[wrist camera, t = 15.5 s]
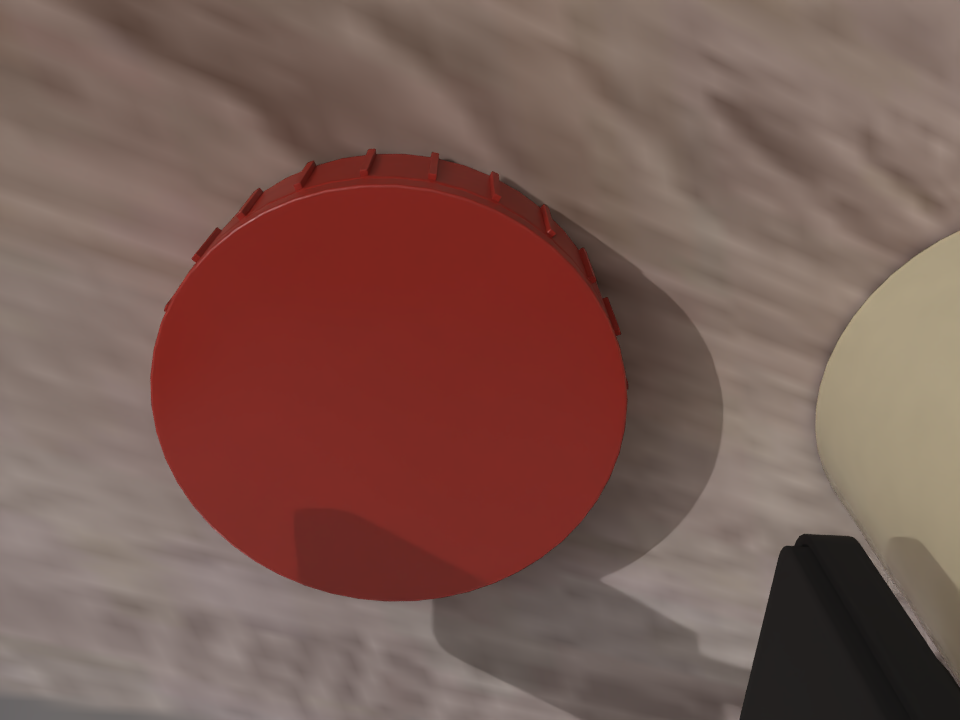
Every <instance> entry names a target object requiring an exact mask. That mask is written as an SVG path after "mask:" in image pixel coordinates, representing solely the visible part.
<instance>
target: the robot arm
mask: <svg viewBox="0 0 960 720" xmlns="http://www.w3.org/2000/svg"><path fill="white" fill-rule="evenodd" d="M740 720H960V687H959V686H958V684H957V683H956V682H955V680H954V679H953V677H952V676H951V674H950V673H949V671H948V670H947V669H946V668H945V667H944V666H943V664H942V663H941V662H940V661H939V660H938V659H937V658H936V656H935V655H934V653H933V652H932V650H931V649H930V647H929V646H928V644H927V643H926V641H925V640H924V638H923V637H922V635H921V634H920V632H919V631H918V630H917V628H916V627H915V625H914V624H913V622H912V621H911V619H910V618H909V616H908V615H907V613H906V612H905V610H904V609H903V607H902V606H901V604H900V603H899V601H898V600H897V598H896V597H895V595H894V594H893V592H892V591H891V589H890V588H889V586H888V585H887V584H886V582H885V581H884V579H883V578H882V576H881V575H880V573H879V572H878V570H877V569H876V567H875V566H874V564H873V563H872V561H871V560H870V558H869V557H868V555H867V554H866V552H865V551H864V549H863V548H862V546H861V545H860V543H859V542H858V541H857V540H856V539H855V538H853V537H850V536H834V535H813V534H803V535H801V536H799V538H798V539H797V541H796V543H795V545H794V546H785V547H783V549H782V550H781V552H780V555H779V558H778V562H777V566H776V570H775V574H774V578H773V583H772V587H771V591H770V595H769V599H768V603H767V608H766V612H765V616H764V620H763V624H762V628H761V632H760V637H759V641H758V645H757V649H756V653H755V657H754V661H753V666H752V670H751V674H750V678H749V682H748V686H747V690H746V695H745V699H744V703H743V707H742V711H741V715H740Z"/></svg>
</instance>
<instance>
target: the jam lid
mask: <svg viewBox="0 0 960 720" xmlns="http://www.w3.org/2000/svg"><path fill="white" fill-rule="evenodd" d="M192 260H193V261H195V262H196V264H195V265H194V266H193V267H192V269H191V270H190V271H189V273H188V274H187V276H186V277H185V279H184V280H183V282H182V283H181V285H180V286H179V288H178V289H177V291H176V292H175V294H174V295H173V297H172V298H171V299H170V301H169V302H168V303H167V304H166V306H165V309H164V311H165V312H166V313H165V315H164V317H163V320H162V322H161V325H160V329H159V332H158V336H157V339H156V343H155V347H154V351H153V360H152V368H151V377H150V379H151V405H152V411H153V416H154V421H155V427H156V432H157V435H158V438H159V441H160V444H161V447H162V450H163V453H164V456H165V459H166V461H167V463H168V465H169V467H170V469H171V471H172V473H173V475H174V477H175V479H176V481H177V483H178V484H179V486H180V487H181V489H182V490H183V492H184V493H185V495H186V496H187V498H188V499H189V500H190V502H191V503H192V505H193V506H194V507H195V509H196V510H197V511H198V512H199V513H200V514H201V515H202V516H203V518H204V519H205V520H206V521H207V522H208V523H209V524H210V526H211V527H212V528H214V529H215V530H216V531H217V532H218V533H219V534H220V535H221V536H222V537H224V538H225V539H226V540H227V541H228V542H229V543H230V544H231V545H233V546H234V547H235V548H237V549H238V550H240V551H241V552H243V553H244V554H245V555H247V556H248V557H250V558H251V559H252V560H254V561H255V562H257V563H259V564H261V565H263V566H265V567H266V568H268V569H270V570H272V571H274V572H275V573H277V574H279V575H281V576H284V577H286V578H288V579H291V580H293V581H296V582H298V583H300V584H303V585H305V586H308V587H312V588H315V589H318V590H322V591H325V592H328V593H332V594H337V595H342V596H347V597H352V598H357V599H366V600H378V601H419V600H427V599H436V598H443V597H448V596H452V595H457V594H461V593H466V592H470V591H473V590H476V589H479V588H482V587H484V586H487V585H490V584H493V583H496V582H498V581H500V580H502V579H504V578H506V577H509V576H511V575H513V574H515V573H517V572H519V571H521V570H522V569H524V568H526V567H527V566H529V565H531V564H532V563H534V562H535V561H537V560H539V559H540V558H542V557H543V556H544V555H546V554H547V553H548V552H549V551H551V550H552V549H553V548H554V547H556V546H557V545H558V544H560V543H561V542H562V541H563V540H564V539H565V538H566V537H567V536H568V535H569V534H570V533H571V532H572V531H573V530H574V529H575V528H576V527H577V526H578V525H579V524H580V523H581V521H582V520H583V519H584V518H585V516H586V515H587V514H588V512H589V511H590V510H591V508H592V507H593V506H594V504H595V503H596V502H597V500H598V498H599V496H600V494H601V493H602V491H603V489H604V487H605V486H606V484H607V482H608V480H609V478H610V476H611V474H612V471H613V468H614V466H615V463H616V461H617V458H618V455H619V453H620V448H621V444H622V440H623V435H624V431H625V425H626V413H627V389H628V381H627V378H626V373H625V368H624V364H623V359H622V355H621V351H620V346H619V343H618V340H617V337H616V336H617V335H621V332H620V329H619V326H618V323H617V321H616V318H615V315H614V313H613V310H612V307H611V305H610V302H609V299H608V297H606V298H603V299H602V296H601V294H600V291H599V288H598V286H597V283H596V281H597V280H596V277H595V274H594V271H593V269H592V266H591V263H590V260H589V258H588V255H587V252H586V251H585V249H584V248H581V249H580V250H578V249H577V247H576V246H575V245H574V243H573V242H572V241H571V239H570V238H569V237H568V235H567V234H566V233H565V231H564V230H563V229H562V228H561V227H560V226H559V225H558V224H557V223H556V222H555V221H554V220H553V219H552V217H551V213H550V210H549V208H548V207H547V206H546V205H545V204H543V205H542V207H541V208H540V207H539V206H537V205H536V204H535V203H533V202H532V201H531V200H529V199H528V198H527V197H525V196H524V195H523V194H521V193H520V192H519V191H517V190H515V189H513V188H512V187H510V186H508V185H506V184H504V183H503V182H501V181H499V174H498V173H495V172H493V171H492V172H491V174H490V176H489V175H487V174H484V173H482V172H479V171H477V170H474V169H472V168H469V167H467V166H464V165H460V164H456V163H453V162H449V161H445V160H441V159H439V153H434V152H432V154H431V157H424V156H416V155H408V154H376V149H368V152H367V154H366V155H364V156H356V157H349V158H342V159H338V160H335V161H331V162H328V163H324V164H321V165H317V166H316V164H315V162H314V161H311V162H308V163H307V164H306V166H305V167H304V169H303V170H302V172H299V173H297V174H295V175H292V176H290V177H288V178H285V179H284V180H282V181H281V182H279V183H277V184H276V185H274V186H272V187H271V188H269V189H267V190H266V191H264V192H263V191H262V190H261V189H260V188H258V189H257V190H255V191H254V192H253V194H252V195H251V196H250V198H249V199H248V200H247V201H246V203H245V204H244V205H243V207H242V208H241V209H240V210H239V212H238V213H237V214H236V215H235V216H234V217H233V219H232V220H231V221H230V222H229V223H228V224H227V225H226V226H225V227H224V229H223V230H220V229H219V228H218V227H217V228H216V229H215V230H214V231H213V233H212V234H211V235H210V236H209V238H208V239H207V240H206V241H205V242H204V244H203V245H202V246H201V247H200V249H199V250H198V251H197V252H196V254H195V255H194V256H193V257H192Z"/></svg>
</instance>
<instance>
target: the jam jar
mask: <svg viewBox="0 0 960 720" xmlns="http://www.w3.org/2000/svg"><path fill="white" fill-rule="evenodd" d="M815 432H816V440H817V448H818V453H819V456H820V460H821V463H822V467H823V470H824V472H825V474H826V476H827V478H828V480H829V482H830V484H831V486H832V488H833V490H834V491H835V493H836V494H837V496H838V497H839V499H840V501H841V502H842V504H843V505H844V507H845V508H846V510H847V511H848V513H849V514H850V516H851V517H852V519H853V521H854V522H855V524H856V525H857V527H858V528H859V530H860V531H861V533H862V534H863V536H864V537H865V539H866V541H867V542H868V544H869V545H870V547H871V548H872V550H873V551H874V553H875V554H876V556H877V557H878V559H879V561H880V562H881V564H882V565H883V567H884V568H885V570H886V571H887V573H888V574H889V576H890V577H891V579H892V580H893V582H894V584H895V585H896V587H897V588H898V590H899V591H900V593H901V594H902V596H903V597H904V599H905V600H906V602H907V604H908V605H909V607H910V608H911V610H912V611H913V613H914V614H915V616H916V617H917V619H918V620H919V622H920V624H921V625H922V627H923V628H924V630H925V631H926V633H927V634H928V636H929V637H930V639H931V640H932V642H933V644H934V645H935V647H936V648H937V650H938V651H939V653H940V654H941V656H942V657H943V659H944V660H945V662H946V664H947V665H948V667H949V668H950V670H951V671H952V673H953V674H954V676H955V677H956V679H957V680H958V682H959V683H960V230H959V231H957V232H955V233H953V234H951V235H949V236H947V237H945V238H943V239H941V240H939V241H938V242H936V243H935V244H933V245H931V246H930V247H928V248H927V249H925V250H924V251H922V252H920V253H919V254H917V255H916V256H914V257H913V258H912V259H910V260H909V261H908V262H907V263H905V264H904V265H903V266H902V267H900V268H899V269H898V270H897V271H895V272H894V273H893V274H892V275H890V276H889V277H888V278H887V279H886V280H885V281H884V282H883V283H882V284H881V285H880V286H879V287H878V288H877V289H876V290H875V291H874V292H873V293H872V294H871V295H870V296H869V298H868V299H867V300H866V301H865V303H864V304H863V305H862V306H861V307H860V309H859V310H858V311H857V312H856V314H855V315H854V316H853V318H852V319H851V321H850V322H849V324H848V325H847V327H846V328H845V330H844V332H843V333H842V335H841V336H840V338H839V340H838V342H837V344H836V346H835V348H834V350H833V352H832V354H831V356H830V358H829V360H828V363H827V366H826V369H825V372H824V375H823V378H822V381H821V384H820V389H819V394H818V400H817V405H816V423H815Z"/></svg>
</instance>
